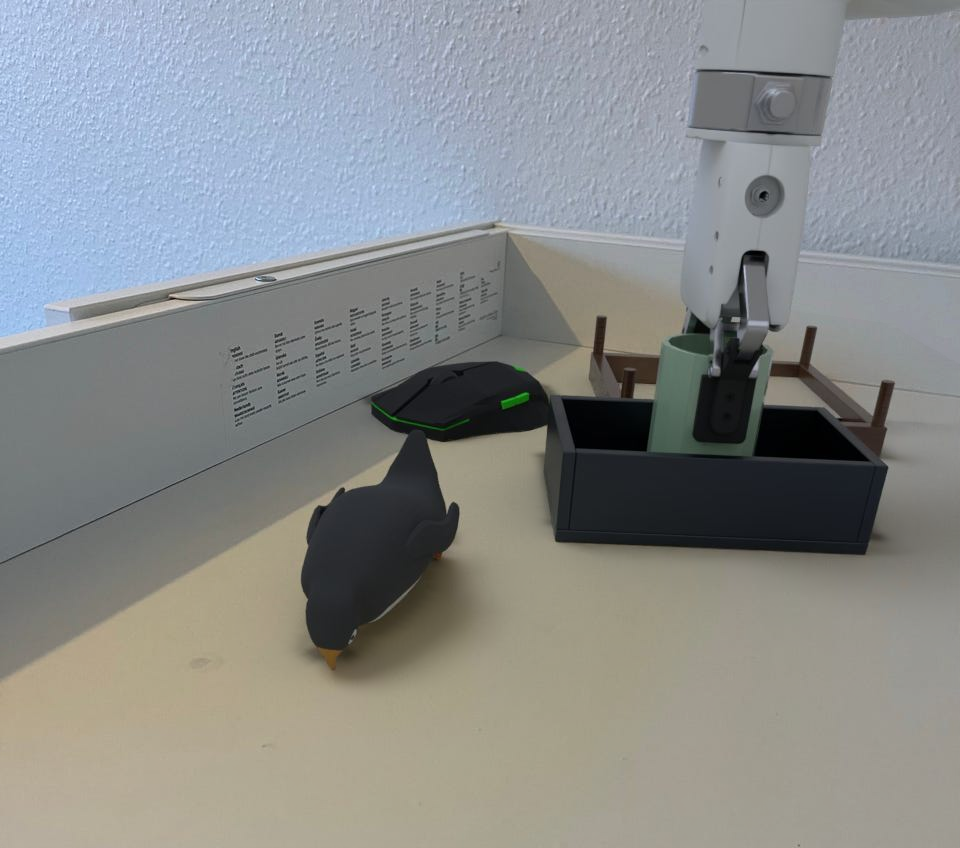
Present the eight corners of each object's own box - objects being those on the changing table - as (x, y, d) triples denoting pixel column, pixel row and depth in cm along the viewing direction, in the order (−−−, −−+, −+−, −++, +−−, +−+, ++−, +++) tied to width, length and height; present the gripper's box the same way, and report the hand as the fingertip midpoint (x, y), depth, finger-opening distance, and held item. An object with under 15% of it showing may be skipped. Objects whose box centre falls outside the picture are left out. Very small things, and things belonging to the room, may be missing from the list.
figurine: (354, 585, 60) (249, 664, 46) (362, 420, 57) (252, 451, 43) (471, 603, 59) (399, 690, 45) (487, 434, 56) (414, 472, 42)
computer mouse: (587, 415, 86) (592, 369, 84) (445, 450, 76) (447, 399, 74) (496, 386, 93) (498, 342, 91) (355, 415, 83) (354, 367, 81)
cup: (736, 453, 69) (758, 336, 65) (760, 487, 63) (786, 361, 59) (639, 448, 69) (655, 330, 65) (654, 482, 63) (673, 355, 59)
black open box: (807, 484, 73) (824, 407, 70) (866, 555, 62) (889, 466, 59) (543, 472, 72) (549, 394, 70) (554, 541, 61) (563, 451, 59)
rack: (803, 387, 98) (816, 325, 95) (880, 458, 79) (899, 383, 76) (588, 377, 97) (594, 314, 94) (614, 446, 79) (623, 370, 76)
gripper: (877, 121, 48) (800, 471, 57) (781, 113, 63) (732, 390, 72) (723, 112, 48) (670, 465, 57) (665, 106, 63) (630, 385, 72)
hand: (705, 421), depth 64 cm, fingers closed on cup, 6 cm apart
